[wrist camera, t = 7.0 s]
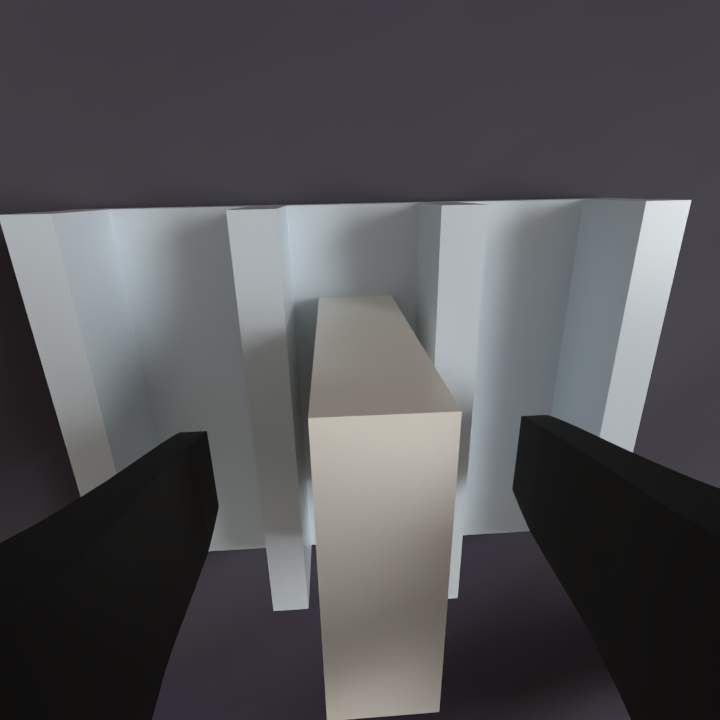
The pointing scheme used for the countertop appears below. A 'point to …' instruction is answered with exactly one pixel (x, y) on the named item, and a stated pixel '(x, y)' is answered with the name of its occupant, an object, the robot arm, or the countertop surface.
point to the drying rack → (298, 331)
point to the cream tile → (380, 508)
